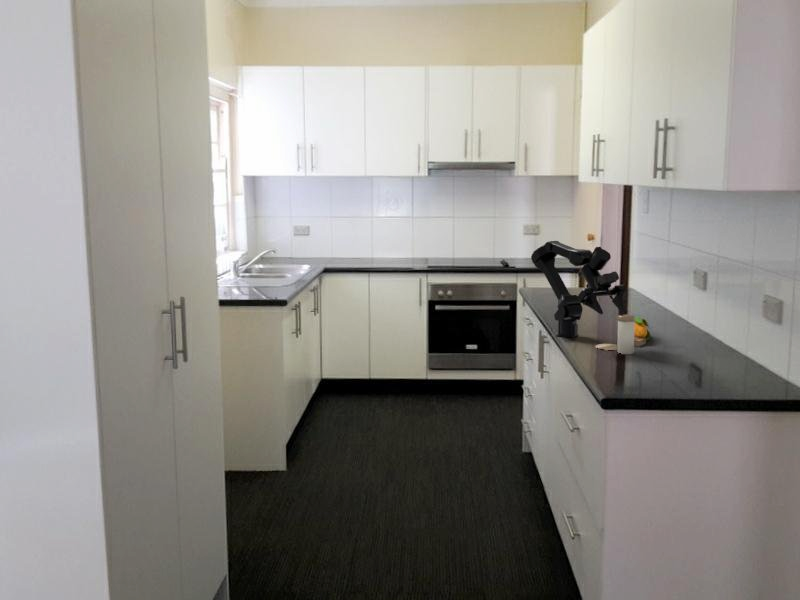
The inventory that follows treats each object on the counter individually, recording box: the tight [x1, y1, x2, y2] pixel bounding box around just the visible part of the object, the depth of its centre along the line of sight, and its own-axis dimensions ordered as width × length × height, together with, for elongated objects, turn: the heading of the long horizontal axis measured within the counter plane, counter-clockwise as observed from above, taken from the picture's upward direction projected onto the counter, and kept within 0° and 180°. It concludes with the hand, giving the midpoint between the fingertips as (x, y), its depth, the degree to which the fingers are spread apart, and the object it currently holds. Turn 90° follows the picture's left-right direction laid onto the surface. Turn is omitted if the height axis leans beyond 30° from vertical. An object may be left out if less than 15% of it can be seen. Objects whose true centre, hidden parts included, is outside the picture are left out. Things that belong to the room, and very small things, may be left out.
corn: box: [634, 316, 651, 341], centre depth 311 cm, size 7×8×20 cm
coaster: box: [595, 343, 617, 351], centre depth 297 cm, size 9×9×1 cm
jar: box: [616, 314, 636, 355], centre depth 288 cm, size 6×6×13 cm
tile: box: [634, 337, 647, 347], centre depth 302 cm, size 6×6×2 cm
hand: (612, 312), depth 294 cm, fingers open, 9 cm apart
